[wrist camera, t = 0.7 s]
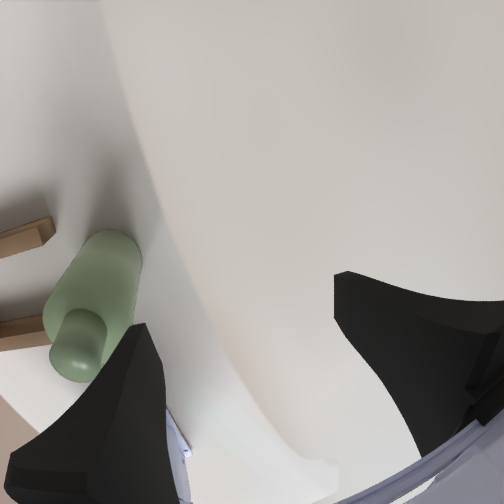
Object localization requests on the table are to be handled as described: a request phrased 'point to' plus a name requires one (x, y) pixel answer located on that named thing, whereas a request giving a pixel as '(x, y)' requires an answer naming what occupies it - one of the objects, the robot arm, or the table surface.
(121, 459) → the robot arm
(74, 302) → the bottle
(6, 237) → the u rest
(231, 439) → the table surface
